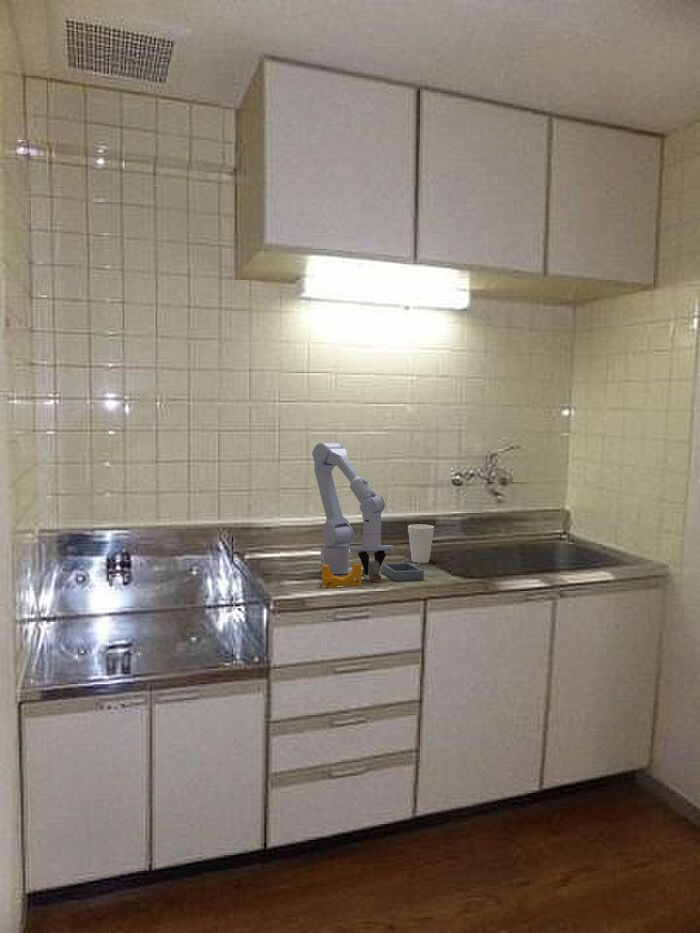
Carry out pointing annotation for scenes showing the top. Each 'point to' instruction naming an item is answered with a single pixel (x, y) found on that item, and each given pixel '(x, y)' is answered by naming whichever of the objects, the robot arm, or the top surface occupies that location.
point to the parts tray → (402, 571)
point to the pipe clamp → (334, 581)
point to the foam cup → (420, 542)
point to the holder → (374, 577)
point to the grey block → (372, 568)
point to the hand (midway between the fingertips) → (371, 574)
